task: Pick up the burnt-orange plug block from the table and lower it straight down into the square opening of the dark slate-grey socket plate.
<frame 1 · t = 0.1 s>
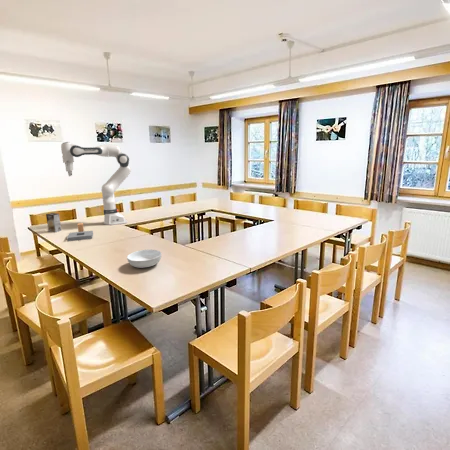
hand: (70, 175, 275), 48 cm above the table, tool pointing down, fingers open, 8 cm apart
plug: (81, 232, 264), on the table
coffee box: (55, 231, 270), on the table
socket plate: (80, 237, 249), on the table
serving bowl: (145, 265, 188), on the table
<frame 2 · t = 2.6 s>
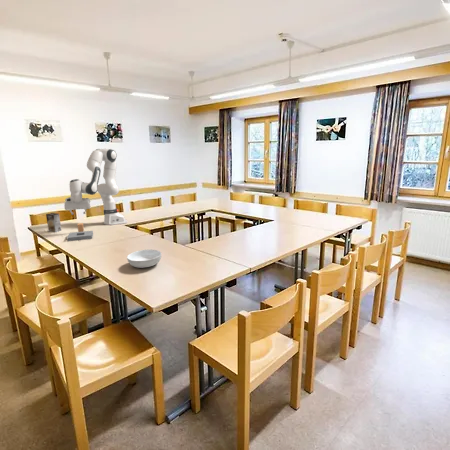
hand: (78, 214, 260), 17 cm above the table, tool pointing down, fingers open, 8 cm apart
nothing on the table moved.
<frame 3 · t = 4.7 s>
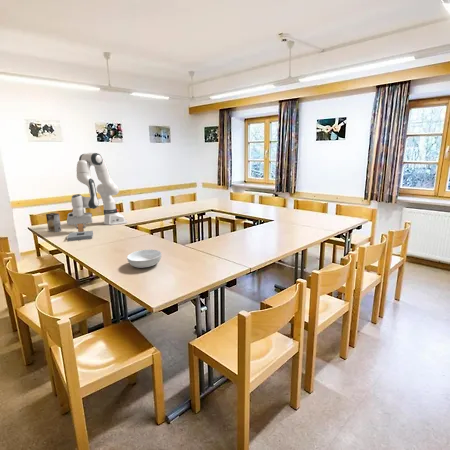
hand: (80, 228, 263), 4 cm above the table, tool pointing down, fingers closed on plug, 4 cm apart
plug: (81, 232, 264), on the table, touching gripper
everything else where it was.
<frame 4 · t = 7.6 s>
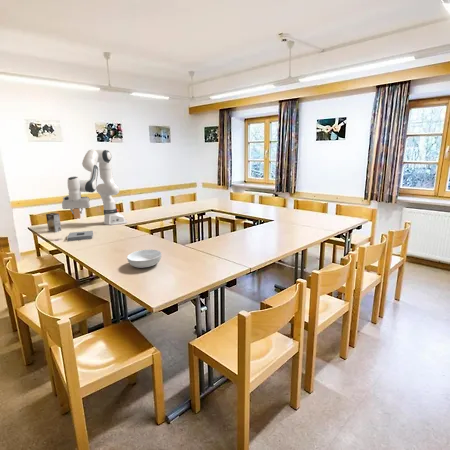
hand: (77, 213, 245), 20 cm above the table, tool pointing down, fingers closed on plug, 4 cm apart
plug: (77, 218, 246), point 16 cm above the table, touching gripper
everything else where it was.
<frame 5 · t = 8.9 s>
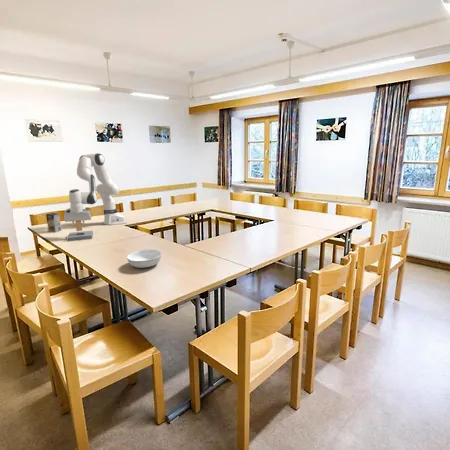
hand: (78, 226, 247), 10 cm above the table, tool pointing down, fingers closed on plug, 4 cm apart
plug: (79, 230, 247), point 6 cm above the table, touching gripper
everything else where it was.
when the fingers open (5 cm above the table, at t = 10.3 s): plug drops 1 cm, resting in socket plate.
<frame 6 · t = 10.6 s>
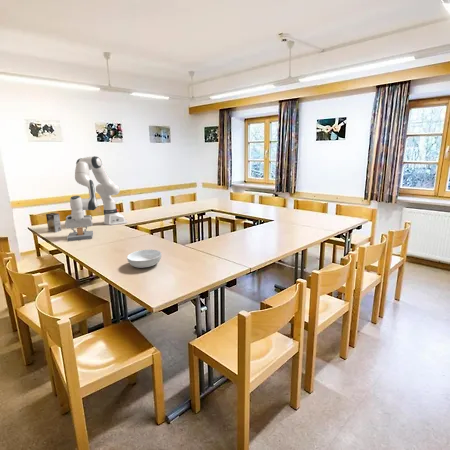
hand: (80, 232, 248), 5 cm above the table, tool pointing down, fingers open, 7 cm apart
plug: (81, 237, 249), resting in socket plate
everything else where it was.
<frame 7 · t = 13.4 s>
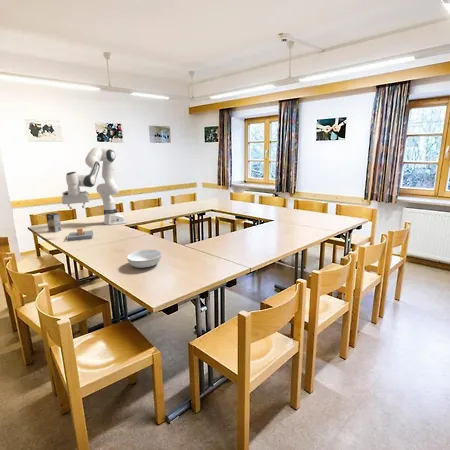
hand: (77, 208, 249), 24 cm above the table, tool pointing down, fingers open, 8 cm apart
nothing on the table moved.
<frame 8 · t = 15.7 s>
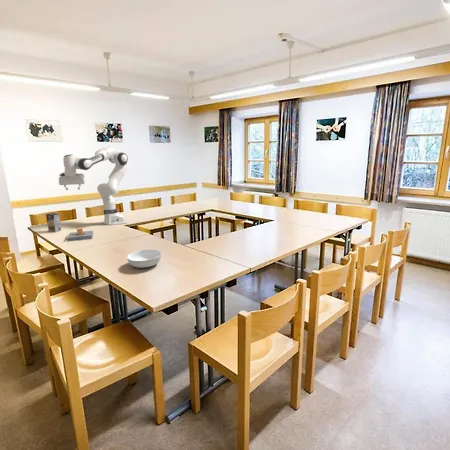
hand: (73, 189, 262), 37 cm above the table, tool pointing down, fingers open, 8 cm apart
nothing on the table moved.
at the end: plug 0.1 cm off-centre on the socket plate, point 0.0 cm above the socket plate's base; plug tilted 0°; the gripper is holding nothing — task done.
